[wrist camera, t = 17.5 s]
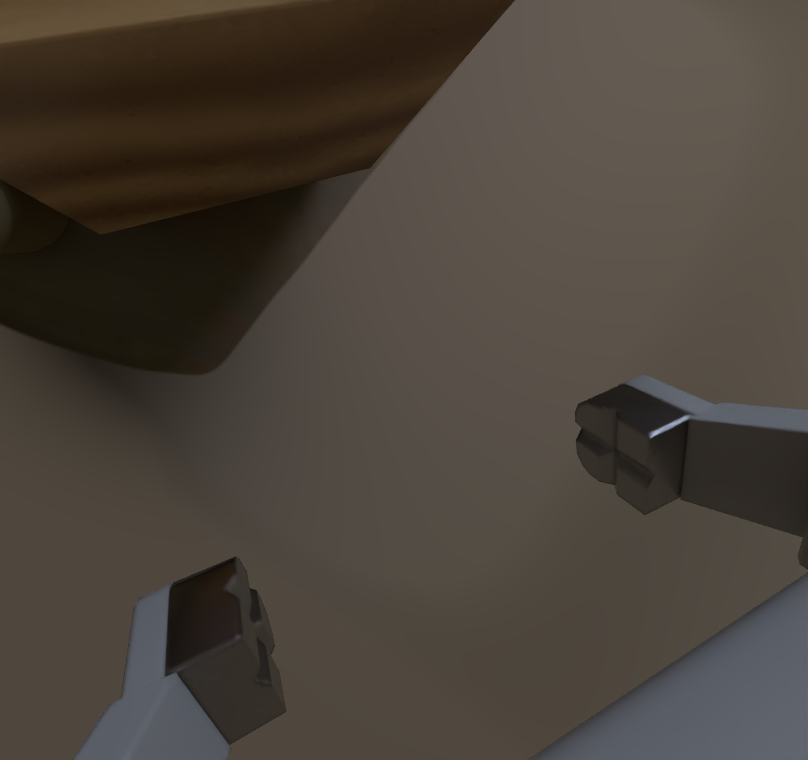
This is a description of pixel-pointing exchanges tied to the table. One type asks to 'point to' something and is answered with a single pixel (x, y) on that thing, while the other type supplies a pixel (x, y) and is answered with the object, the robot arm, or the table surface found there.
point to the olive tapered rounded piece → (27, 222)
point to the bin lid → (212, 95)
